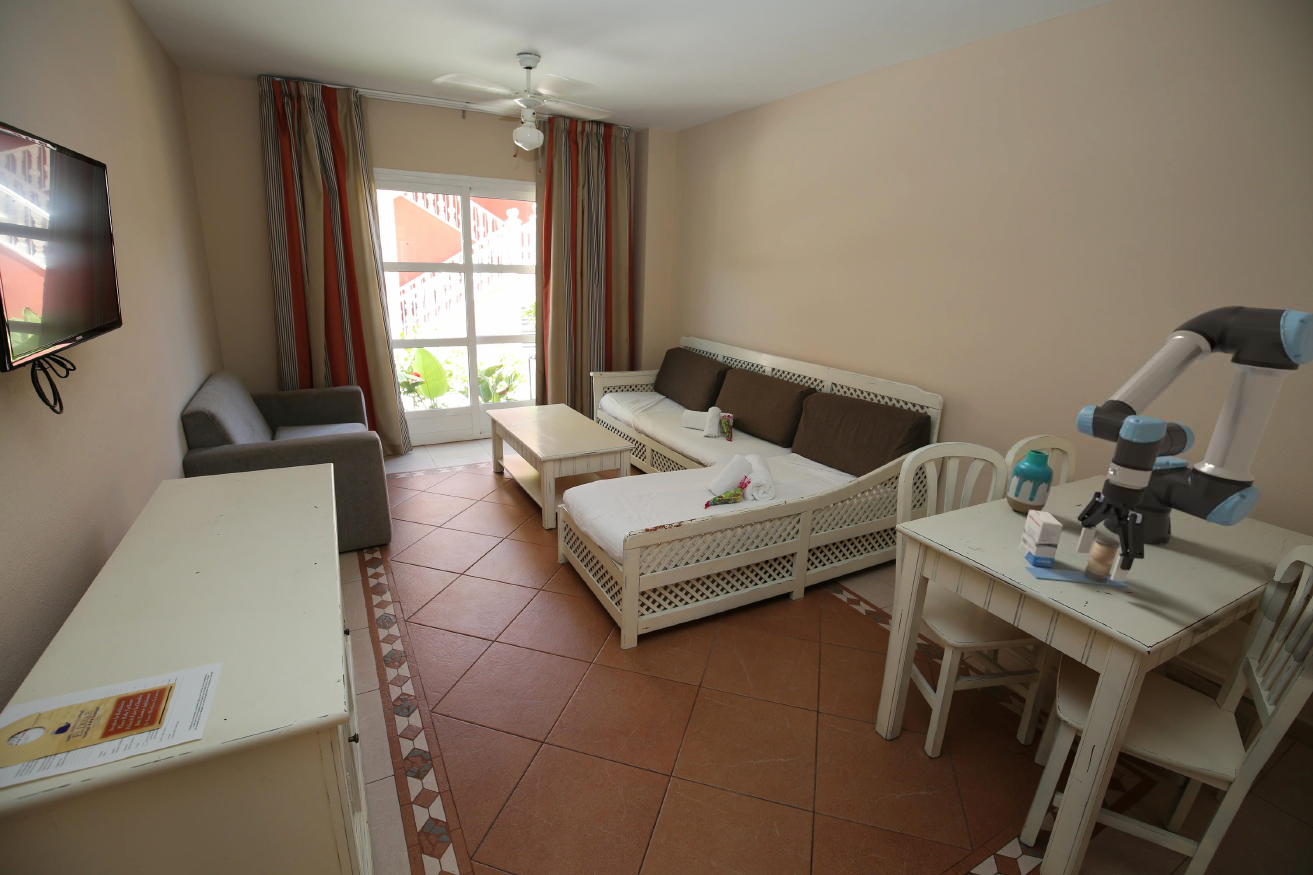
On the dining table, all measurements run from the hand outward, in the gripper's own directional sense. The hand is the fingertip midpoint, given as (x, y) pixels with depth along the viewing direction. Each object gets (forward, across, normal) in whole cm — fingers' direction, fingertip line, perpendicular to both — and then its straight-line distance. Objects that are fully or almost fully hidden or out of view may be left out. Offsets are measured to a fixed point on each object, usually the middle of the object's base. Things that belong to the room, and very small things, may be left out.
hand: (1099, 565), depth 139 cm
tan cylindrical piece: (+3, 0, 0) cm, 3 cm away
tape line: (+4, 0, -4) cm, 6 cm away
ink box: (+4, -8, -10) cm, 13 cm away
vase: (+4, -40, +3) cm, 40 cm away
